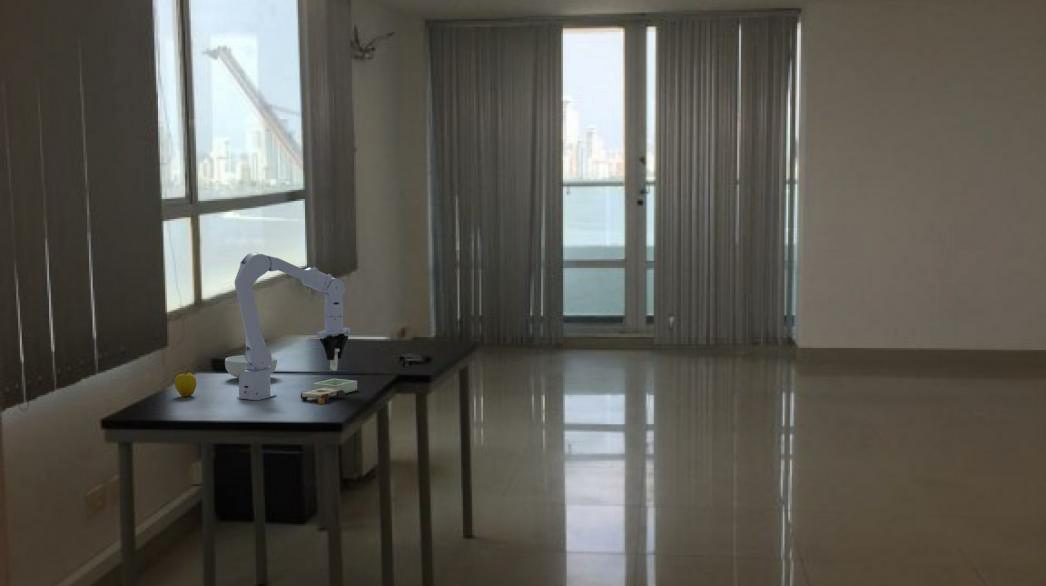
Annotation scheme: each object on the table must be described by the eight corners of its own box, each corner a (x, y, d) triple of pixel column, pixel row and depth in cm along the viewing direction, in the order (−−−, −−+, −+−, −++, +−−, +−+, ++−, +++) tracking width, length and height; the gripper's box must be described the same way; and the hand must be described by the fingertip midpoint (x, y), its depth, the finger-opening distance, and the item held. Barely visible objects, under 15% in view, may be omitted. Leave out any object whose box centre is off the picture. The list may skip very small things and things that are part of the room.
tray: (336, 395, 365) (336, 385, 364) (312, 392, 369) (312, 383, 368) (357, 390, 374) (357, 380, 374) (334, 387, 378) (334, 378, 378)
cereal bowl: (230, 384, 384) (229, 362, 383) (221, 376, 399) (220, 356, 398) (282, 381, 391) (281, 360, 390) (271, 374, 406) (271, 353, 405)
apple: (196, 394, 365) (195, 368, 364) (197, 397, 359) (196, 371, 358) (174, 395, 363) (174, 369, 362) (175, 398, 357) (174, 372, 356)
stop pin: (334, 371, 367) (335, 348, 367) (326, 370, 369) (327, 348, 369) (340, 370, 370) (341, 348, 370) (332, 369, 372) (333, 347, 371)
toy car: (321, 403, 350) (321, 395, 350) (297, 401, 354) (297, 392, 354) (345, 397, 361) (345, 389, 360) (322, 395, 365) (322, 386, 364)
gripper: (330, 318, 360) (330, 363, 361) (358, 314, 373) (358, 357, 374) (311, 317, 363) (311, 361, 365) (339, 313, 376) (340, 355, 377)
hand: (334, 359), depth 370 cm, fingers closed on stop pin, 3 cm apart
